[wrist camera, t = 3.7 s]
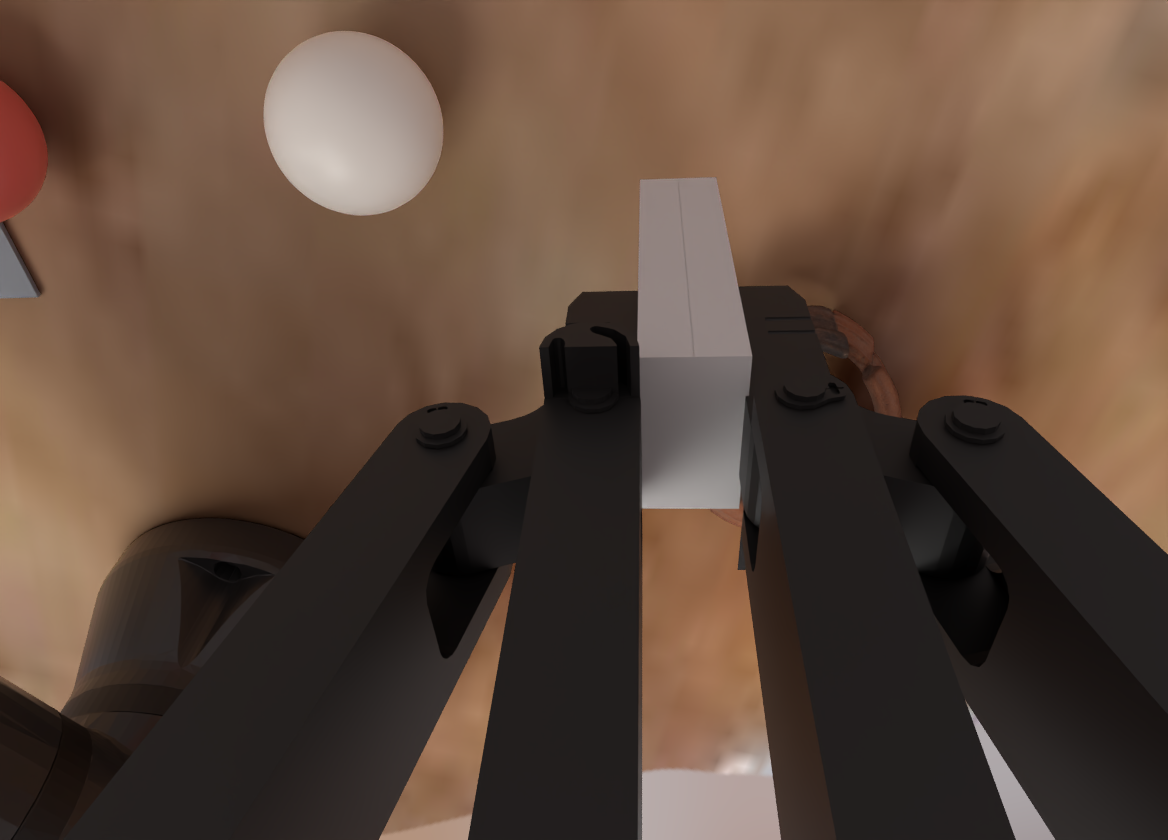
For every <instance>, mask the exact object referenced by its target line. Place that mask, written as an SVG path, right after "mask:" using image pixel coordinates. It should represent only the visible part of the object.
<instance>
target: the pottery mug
mask: <svg viewBox="0 0 1168 840" xmlns="http://www.w3.org/2000/svg"><path fill="white" fill-rule="evenodd" d="M807 307H808V310H809V313H810V316H811V320H812V322H813V325H814V328H815V334H817V337H818V339H819V342H820V345H821V348H822V351H823V352H826V353H828V354H831V355H834V356H836V357H839V358H849V359H850V360H851V361H852V362H853V363H855V365H856V366H857V367H858V368H859V370H860V371H861V372H862V374H863V382H864V384H865V385H866V387H867V389H868V391H869V394H870V396H871V399H872V402H873V406H874V411H875V412H877V413H881V414H884V415H889V416H894V417H900V418H902V416H901V406H900V403H899V395H898V392H897V390H896V388H895V386H894V384H893V382H892V380H891V378H890V376H889V374H888V373H887V371H886V369H885V366H884V365H883V363H882V361H881V360H880V358H879V357H878V356H877V355H876V354H875V353H874V339H873V337H872V336H871V335H870V334H869V333H868V332H867V331H866V330H865V329H864V328H862V327H861V326H860V325H859V324H857V323H856V322H855V321H853V320H852V319H850V318H849V317H847V316H845V315H843V314H842V313H840V312H838V311H836V310H834V311H833V312H832V311H831V310H830V309H828V308H826V307H823V306H807ZM710 510H711V511H712V512H713V513H714V514H716V515H717V516H719V517H720V518H722V519H724V520H725V521H727V522H730V523H732V524H734V525H736V526H739V527H742V518H743V500H742V493H741V491H740V502H739V509H710Z"/></svg>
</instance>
